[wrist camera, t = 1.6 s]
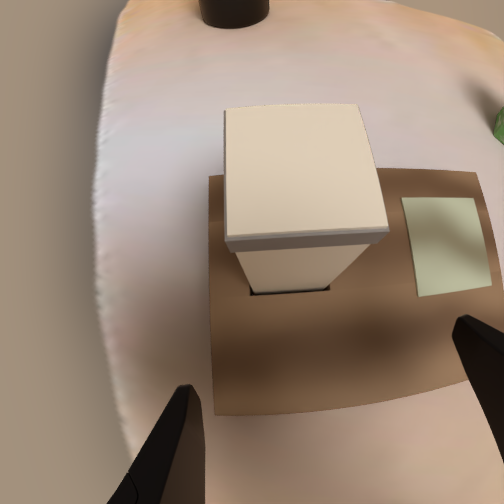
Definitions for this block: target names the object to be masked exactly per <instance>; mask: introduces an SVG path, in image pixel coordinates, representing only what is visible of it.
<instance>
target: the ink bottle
mask: <svg viewBox="0 0 504 504" xmlns="http://www.w3.org/2000/svg"><path fill="white" fill-rule="evenodd" d="M199 4H200V9H201V13H202V17H203V20H204V21H205V22H206V23H208V24H210V25H213V26H216V27H223V28H238V27H245V26H249V25H252V24H254V23H257V22H259V21H261V20H262V19H264V18H265V17H266V16H267V15H268V13H269V0H199Z"/></svg>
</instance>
